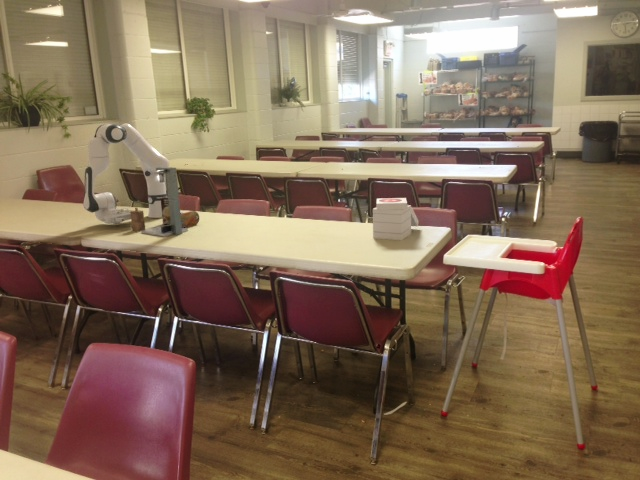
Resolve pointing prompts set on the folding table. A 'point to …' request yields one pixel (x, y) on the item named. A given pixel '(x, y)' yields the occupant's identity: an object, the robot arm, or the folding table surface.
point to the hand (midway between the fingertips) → (129, 218)
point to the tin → (189, 218)
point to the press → (173, 203)
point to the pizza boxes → (393, 219)
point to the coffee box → (165, 210)
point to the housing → (137, 220)
